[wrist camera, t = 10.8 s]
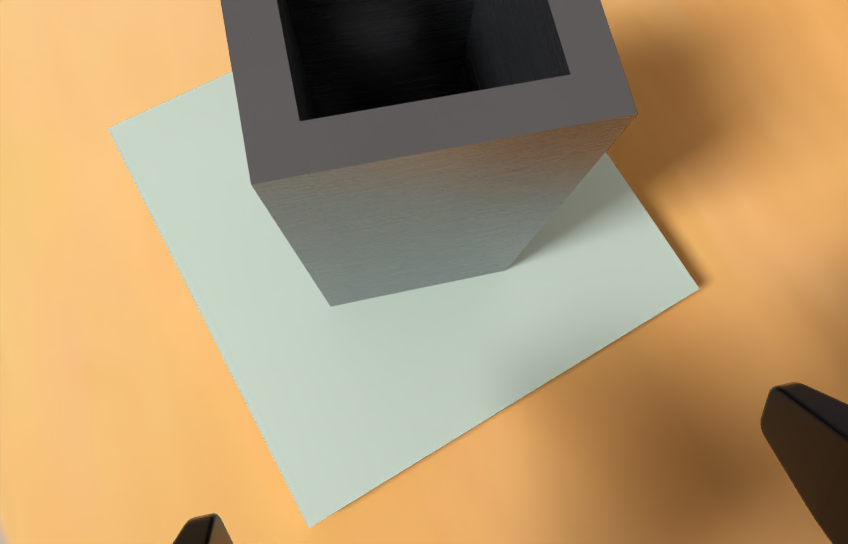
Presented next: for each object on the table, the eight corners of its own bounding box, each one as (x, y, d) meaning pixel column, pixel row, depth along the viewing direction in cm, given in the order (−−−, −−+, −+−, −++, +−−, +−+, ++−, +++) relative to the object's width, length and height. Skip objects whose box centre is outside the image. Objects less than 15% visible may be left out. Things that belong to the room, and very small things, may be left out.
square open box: (505, 270, 18) (637, 113, 8) (330, 306, 17) (250, 184, 8) (464, 112, 19) (538, -188, 9) (299, 142, 19) (196, -146, 9)
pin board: (684, 294, 19) (783, 257, 14) (313, 521, 17) (281, 568, 12) (471, -21, 22) (493, -145, 17) (122, 142, 19) (30, 54, 14)
